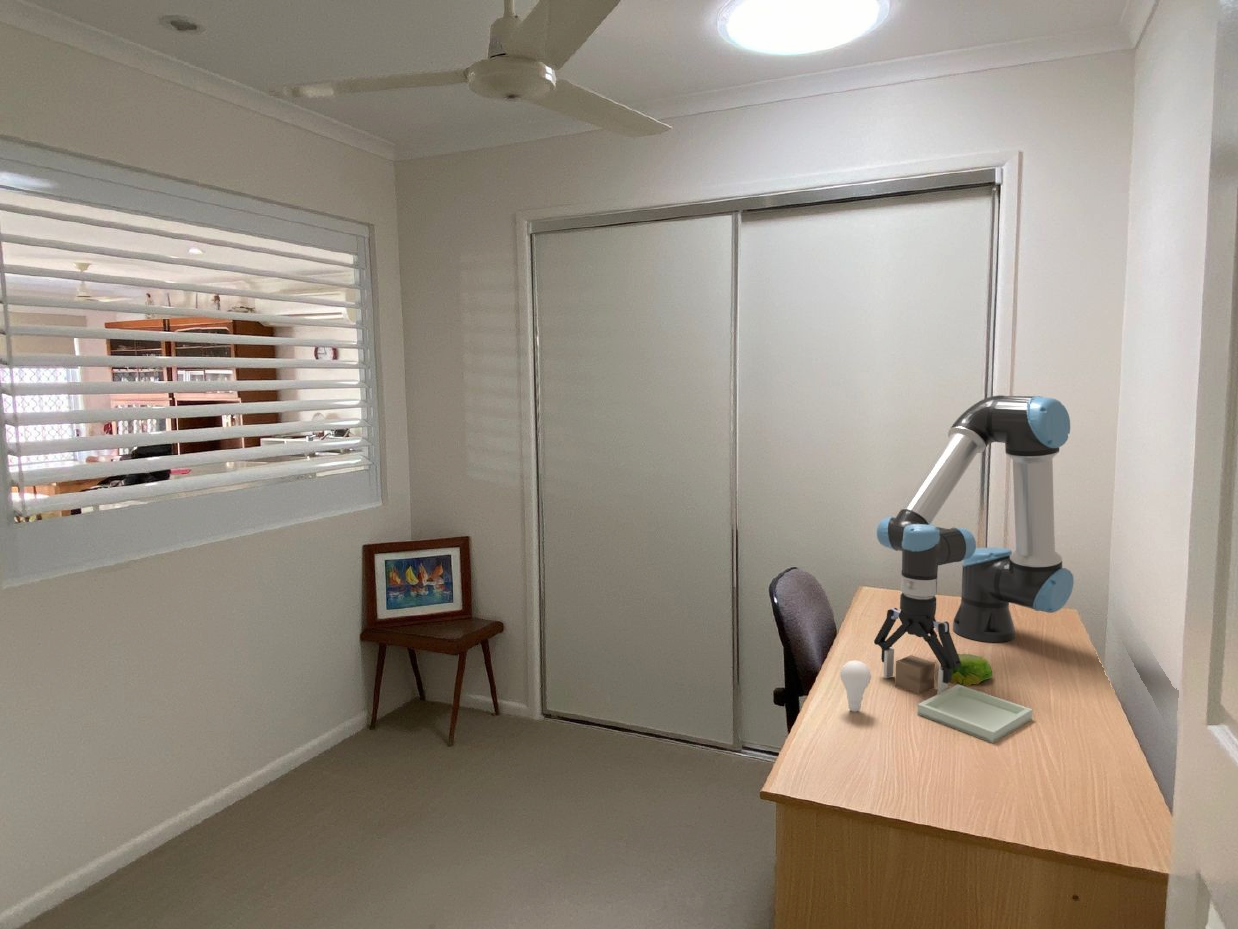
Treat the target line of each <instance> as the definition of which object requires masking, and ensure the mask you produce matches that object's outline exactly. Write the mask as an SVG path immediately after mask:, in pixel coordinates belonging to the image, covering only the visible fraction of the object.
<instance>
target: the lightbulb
mask: <svg viewBox="0 0 1238 929" xmlns="http://www.w3.org/2000/svg"><path fill="white" fill-rule="evenodd" d="M839 674H840V680H841V682H842V684H843V686H844V688H845V690H846V698H847V704H848V705H847V706H848V709H849V710H850V711H851V712H853V713H857V712H859V711H861V709H862V701H863V699H864V694H865V690H866V689H867V688H868V686H869V684H870V683H871V679H872V674H871V670H870V669H869V667H868V666H867V664H866V663H865V662H862V661H860V660H849V661H847V662H846V663H844V664H843V666H842V667H841V669H840V673H839Z"/></svg>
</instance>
